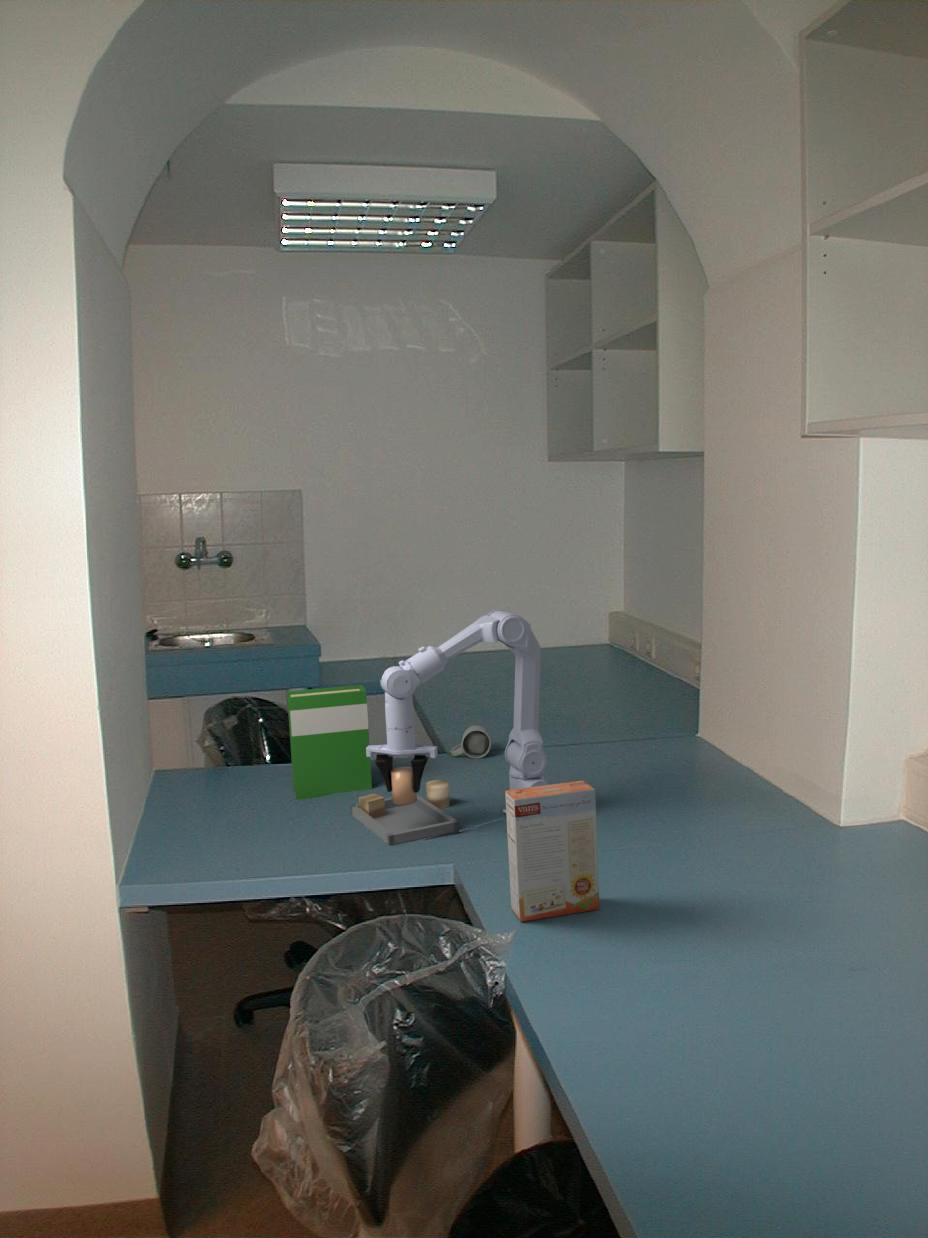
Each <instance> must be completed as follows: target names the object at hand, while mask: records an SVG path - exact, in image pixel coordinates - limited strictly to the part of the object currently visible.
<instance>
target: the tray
mask: <svg viewBox="0 0 928 1238" xmlns="http://www.w3.org/2000/svg"><path fill="white" fill-rule="evenodd" d="M384 801H385V816H382V817H379V818H375V819H373V818H372V817H371V816H369V815H368V814H367V813H365V812H364V811H363V810H362V809H360V808H359V803H356V804H351V805H349V812H350V815H351V816H353V818H355V819H356V820H357V821H358V822H360V823H361V824H362V825H363V826H364V827H365V828H367V829H368V830H369V831H371V832H372V833H373V834H375V836H377V837H378V838H379V839H380V840H382V841H383V843H386V844H387V845H388V846H393V845H398V844H402V843H407V842H412V841H417V840H422V839H425V841H427V840H433V839H436V838H441V837H445V836H446V837H447V836H451V835H455V834H459V833H460V822H459V821H458V820H457V819H456V818H454V817H453V816H452V815H449V814H448V813H447V812H445V811H443V810H442V809H439V808H437V807H436V806H434V805H433V804H431V803H429V802H428V801H427V799H425V798H423V797H422V796H420V795H419V794H417V801H416V802H414V803H411V804H405V805H399V804H394V803H393V798H392V797H387V798H384Z"/></svg>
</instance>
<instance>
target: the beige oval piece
mask: <svg viewBox="0 0 928 1238" xmlns="http://www.w3.org/2000/svg"><path fill="white" fill-rule="evenodd" d="M425 784H426V785H425V789H426V801H428V802H429V803H431V804H433V805H434V806H436V807H437V808H439V809H440V810H442V809H446V808H448V807H450V805H451V802H450V801H451V800H450V799H451V798H450V782H449V781H447V780H445V779H434V780H429V781H427V782H426V783H425Z"/></svg>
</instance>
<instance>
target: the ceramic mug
mask: <svg viewBox="0 0 928 1238" xmlns="http://www.w3.org/2000/svg"><path fill="white" fill-rule="evenodd" d="M491 747H492V741H491V736H490V733H489V732H488V730H487V729H486V728H485V727H483V726H481V725H472V726H469V727H467V729H465V730H464V733H463V735H462V738H461V743H459V744H457V745H455V746H454V747H452V748H451V749H450V751H449V752H450V755H451V756H452V757H457V756H460V755H463V754H464V755H466V756H467V757H469V758H470V759H475V760H476V759H481V758H484V757H486V756H487V754H489V752H490V751H491Z"/></svg>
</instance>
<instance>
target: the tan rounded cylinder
mask: <svg viewBox="0 0 928 1238" xmlns="http://www.w3.org/2000/svg"><path fill="white" fill-rule="evenodd" d="M390 772H391V785H392V791H391V798H393V803H394V804H399V805H405V804H411V803H414V802H416V801H417V795H418V794H417V793H418V792H417V793H414V778H413V770H412V766H398V767H395V768H393V769H392V770H391V771H390Z"/></svg>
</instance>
